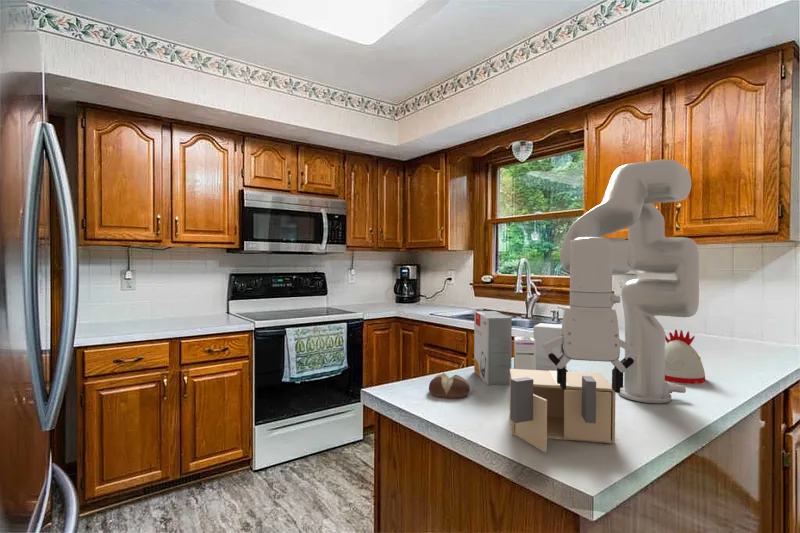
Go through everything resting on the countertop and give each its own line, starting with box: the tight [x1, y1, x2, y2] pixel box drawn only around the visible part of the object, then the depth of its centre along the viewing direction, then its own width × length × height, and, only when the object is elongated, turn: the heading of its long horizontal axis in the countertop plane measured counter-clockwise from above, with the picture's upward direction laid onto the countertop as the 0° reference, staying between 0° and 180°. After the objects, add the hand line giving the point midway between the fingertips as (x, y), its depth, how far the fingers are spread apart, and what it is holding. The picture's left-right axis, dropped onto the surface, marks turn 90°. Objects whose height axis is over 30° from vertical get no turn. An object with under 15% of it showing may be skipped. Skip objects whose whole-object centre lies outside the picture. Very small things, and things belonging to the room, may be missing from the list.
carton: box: [509, 368, 617, 444], centre depth 95 cm, size 20×12×11 cm, turn 78°
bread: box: [428, 372, 471, 399], centre depth 120 cm, size 11×11×5 cm
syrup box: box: [513, 336, 536, 370], centre depth 124 cm, size 6×6×14 cm
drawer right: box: [564, 376, 611, 442], centre depth 86 cm, size 9×4×13 cm, turn 78°
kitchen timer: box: [665, 329, 706, 385], centre depth 137 cm, size 14×14×15 cm
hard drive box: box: [473, 310, 513, 386], centre depth 135 cm, size 16×8×20 cm, turn 5°
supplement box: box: [532, 322, 568, 371], centre depth 145 cm, size 9×9×15 cm
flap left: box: [509, 377, 548, 453], centre depth 86 cm, size 9×4×13 cm, turn 22°
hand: (589, 389), depth 85 cm, fingers open, 9 cm apart
